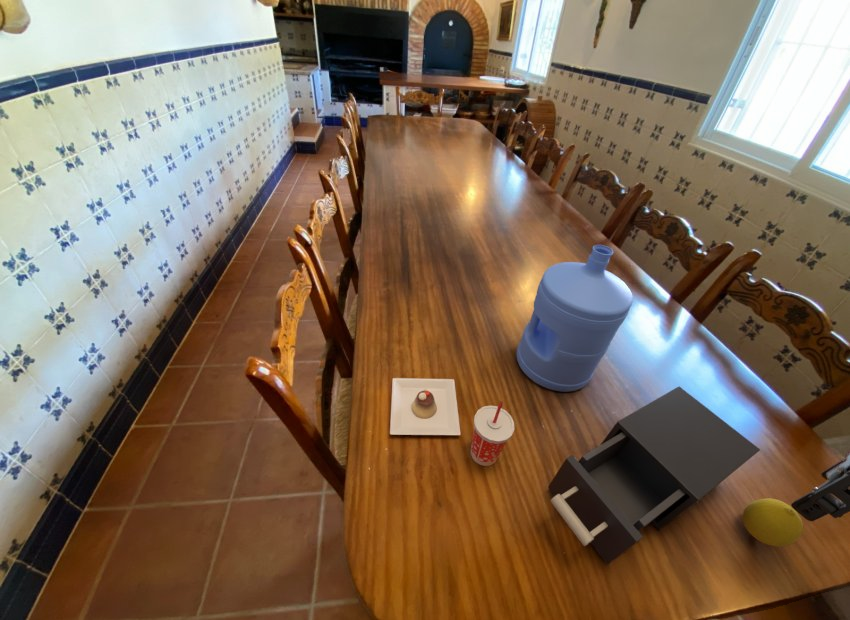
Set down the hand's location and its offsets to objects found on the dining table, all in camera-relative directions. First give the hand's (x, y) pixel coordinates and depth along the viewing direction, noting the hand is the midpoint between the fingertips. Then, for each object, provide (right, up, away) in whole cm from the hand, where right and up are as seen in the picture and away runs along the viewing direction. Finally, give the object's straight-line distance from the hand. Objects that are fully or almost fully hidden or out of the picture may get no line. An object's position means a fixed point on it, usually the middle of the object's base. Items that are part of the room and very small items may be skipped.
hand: (816, 495), depth 45 cm
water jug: (-22, +12, +31) cm, 40 cm away
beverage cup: (-39, -1, +15) cm, 42 cm away
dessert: (-49, +5, +21) cm, 54 cm away
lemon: (-1, -10, +8) cm, 13 cm away
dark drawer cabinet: (-11, -3, +14) cm, 19 cm away
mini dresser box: (-23, -6, +8) cm, 25 cm away
